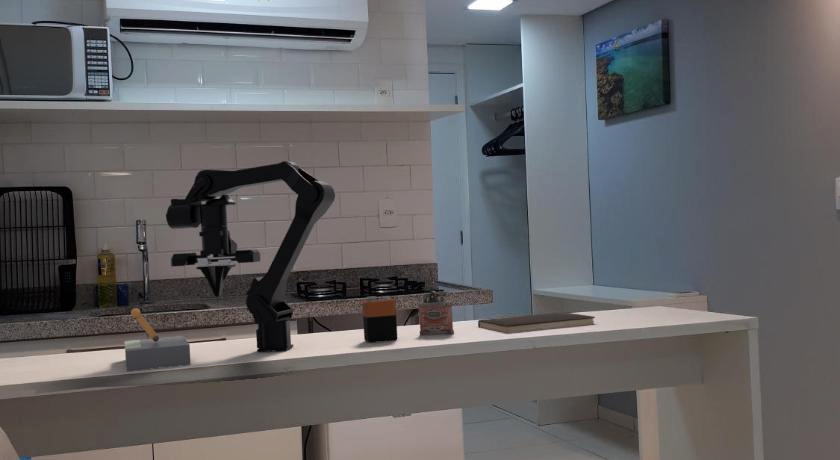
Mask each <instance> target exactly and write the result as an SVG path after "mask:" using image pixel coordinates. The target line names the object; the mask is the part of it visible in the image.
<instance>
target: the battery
mask: <svg viewBox="0 0 840 460" xmlns="http://www.w3.org/2000/svg"><path fill="white" fill-rule="evenodd" d="M361 304H362V320H363V336H364V337H363V338H364V341H365V342H367V343H370V344H371V343H381V342H391V341H392V342H393V341H397V340H398V325H397V324H398V321H397V306H396V305H397V303H396V300H395V299H393V298H391V297H390V295H386V296H385V295H383V296H382V298H381V299H379V298H378V299H377V296H366V300H363V301H362V303H361Z"/></svg>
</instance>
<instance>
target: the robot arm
mask: <svg viewBox="0 0 840 460" xmlns="http://www.w3.org/2000/svg"><path fill="white" fill-rule="evenodd" d="M194 178H195V179H194V182H193V184H192V186H191V188H190V189H189V191H188V193H187V195H186V196H185V198H183V199H182V198H171V199H170V204H169V206H168V208H167V211H166V213H165V219H166V223H167V225H168V226H169V228H171V230H178V229H179V230H181V229H196V228H198V227H199V226H200V231H199V233H198V234H199V237H201V250H199V252H200V254H198V255H197V252H183V253H182V252H181V253H173V254H172V255H171V257H170V267H171V268H172V267H185V266H195V265H196V264H197V266H196V267H195V268H196V270H200V272H201V273H202V274H203V276H204V277H205V279H206V281H207V283H208V285H209V287H210V289H211V290H212V293H213V294H214V297H215V298H221V296H222V293H223V289H224V285H225V282H226V279H227V276H228V274H229V272H230V271H231V269H232V268H235V267H236V263H235V262H237V263H238V264H246V263H258V262H261V253H260V251H259V250H258V249H257V248H256V249H255V248H254V249H241V250H238V243H236V241H235V240H233V239H232V238H231V232H230V230H229V228H228V216H227V215H228V213H227V206H235V205H236V201H234V200H233V199H232V198H231V197H229V195H230V194H231V193H234V192H236V191H237V190H239V189H242V188H247V187H254V186H258V185H266V184H267V185H268V184H272V183H278V182H284V183H285V184H286V185H287V186H288V187H289V188H290V190H291V191H292V192H294V193H295V194H296V195H297V197H296V201H295V208H294V209H295V210H294V217H293V219H292V220H291V223H290V225H289V227H288V229H287V230H286V233H285V235H284V237H283V240H282V241H281V243H280V246H279V247H278V249H277V251H276V254H275V256H274V258H273V260H272V262H271V264H270V266H269V268H268V270H267V272H266V273H265V274H264V276H259V277H258V276H257V277H254V278H253V279H252V281H251V284H250V287H249V288H248V290H247V291H246V292H245V295H247V297H246V299H245V305H246V308H247V310H248V312H249V313H250V314H251V316H252V318H253V321H254V323H255V324H257V327H258V328H257V329H256V331H255V333H256V334H255V335H256V352H258V353H259V352H260V353H261V352H285V351H288V350H290V349H291V348H293V347H294V344H293V343H292V340H291V338H292V336H291V319H292V318H293V313H294V311H295V310H294V309H293V308H292V307H291V306H290V304H288V303H287V302H286V301H285V296H286V292H287V282H288V278H289V276H290V275H291V272H292V270H293V268H294V266H295V265H296V262H297V261H298V258H299V256H300V254H301V252H302V250H303V248H304V246H305V244H306V241H307V240H308V238H309V236H310V233H311V231H312V230H313V228H314V226H315V225H316V223H317V222H318V221H319V220H320V219H321V218H322V217H323V216H324V215H325V214H326V213H327V212H328V210H329V209H330V207H331V206H332V204H333V203H334V202H335V200H336V193H335V190H334V188H333V186H332V185H331V184H330V183H328V182H325V181H320V180H319V179H317V178H316V177H314V175H312V174H310V173H308V172H307V171H305V170H304V169H302V168H301V167H300V166H299V165H298V164H297V163H296V162H292V161H281V162H277V163H273V164H272V163H271V164H266V165H261V166H254V167H249V168H248V167H247V168H243V169H237V170H223V169H222V170H221V169H202V170H200V171H198V172H197V174H196V176H195V177H194ZM217 197H219V198H217ZM211 255H212V257H209V256H211ZM216 262H217V263H218V264H217V265H216V264H215V263H216Z"/></svg>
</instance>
